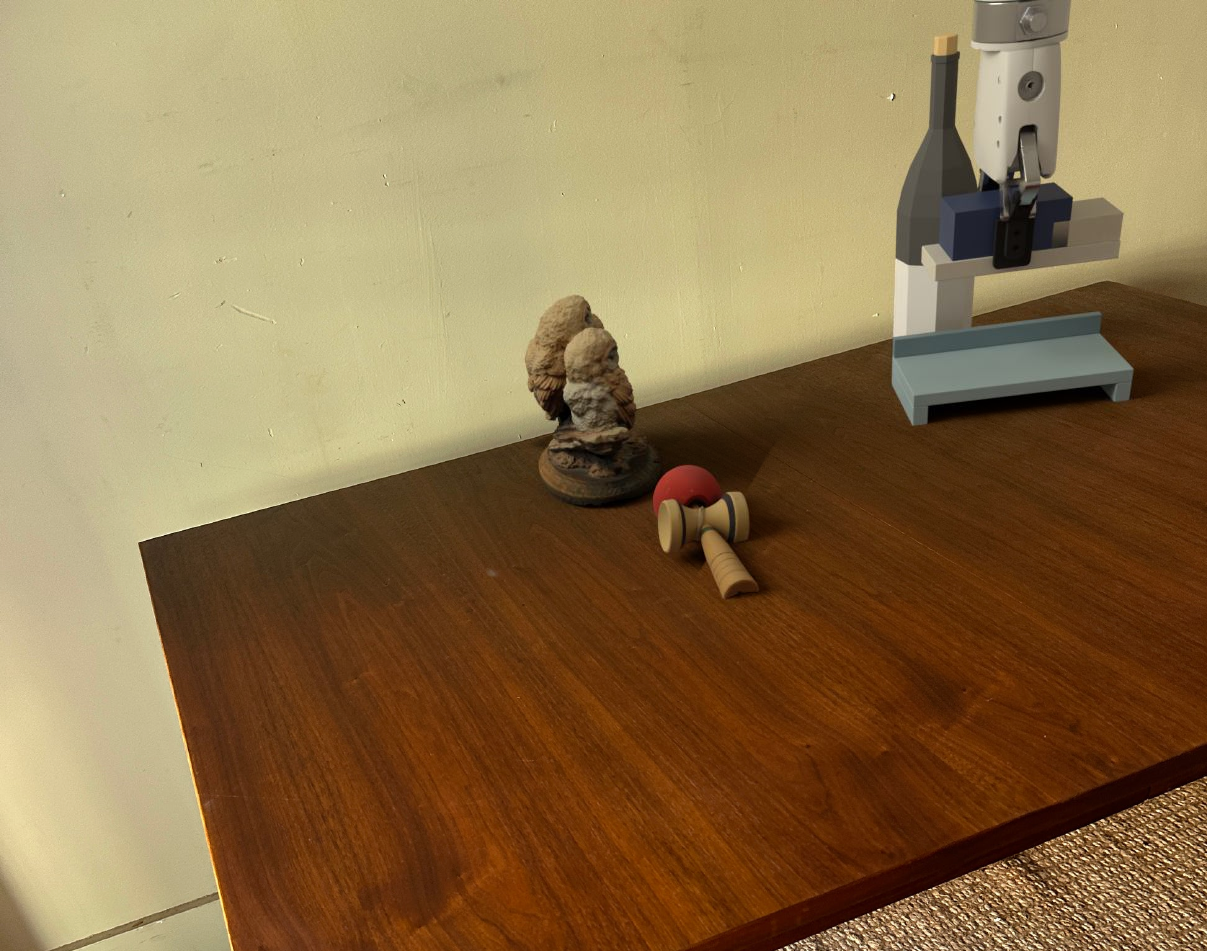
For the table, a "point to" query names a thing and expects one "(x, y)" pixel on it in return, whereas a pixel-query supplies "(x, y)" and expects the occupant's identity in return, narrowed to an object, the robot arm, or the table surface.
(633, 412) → the owl figurine
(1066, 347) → the shelf
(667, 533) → the kendama
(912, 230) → the wine bottle
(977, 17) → the robot arm
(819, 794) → the table surface
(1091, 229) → the navy block on base
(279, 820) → the table surface
